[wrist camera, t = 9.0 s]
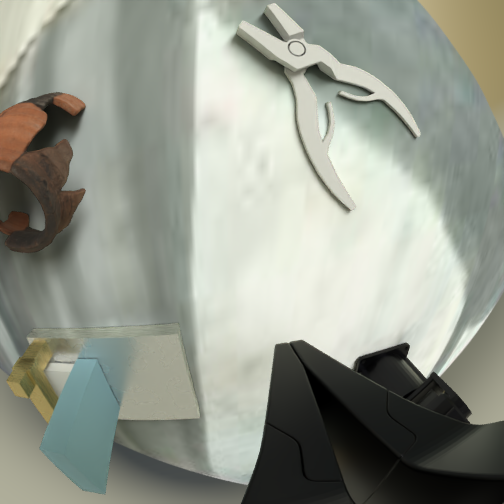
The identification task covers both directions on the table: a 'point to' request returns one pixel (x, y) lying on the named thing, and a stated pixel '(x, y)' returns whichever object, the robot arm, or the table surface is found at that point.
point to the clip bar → (81, 423)
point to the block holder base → (114, 368)
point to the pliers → (296, 63)
